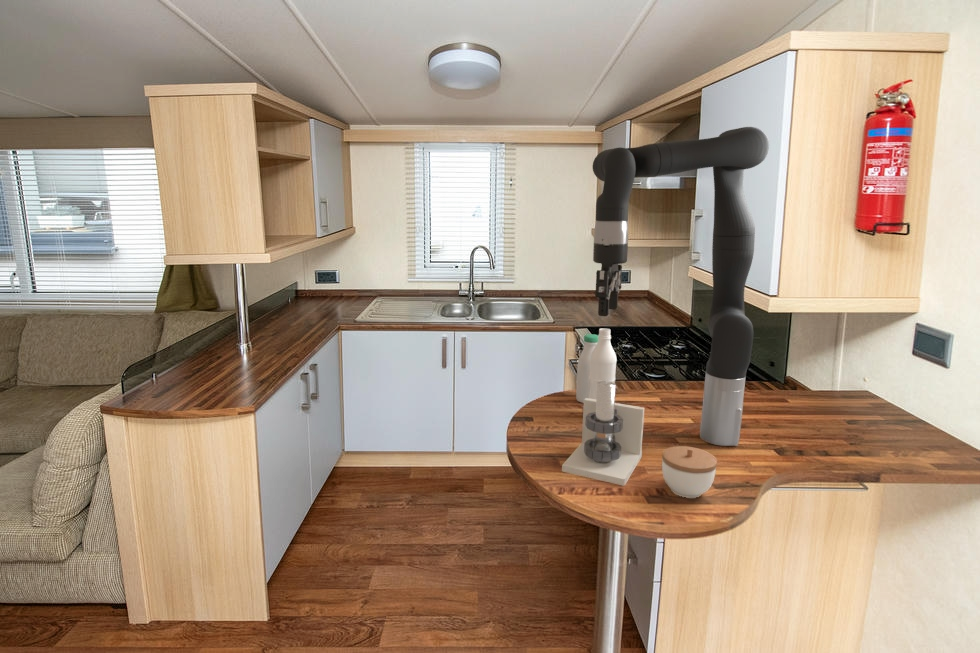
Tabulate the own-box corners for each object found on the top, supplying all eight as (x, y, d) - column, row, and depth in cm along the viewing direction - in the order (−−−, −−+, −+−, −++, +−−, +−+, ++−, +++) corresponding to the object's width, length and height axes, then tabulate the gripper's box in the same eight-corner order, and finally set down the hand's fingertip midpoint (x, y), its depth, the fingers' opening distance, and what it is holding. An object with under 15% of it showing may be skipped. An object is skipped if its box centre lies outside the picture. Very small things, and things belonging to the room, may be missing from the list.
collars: (627, 445, 137) (629, 411, 135) (615, 464, 128) (617, 427, 126) (594, 439, 141) (596, 405, 139) (579, 456, 131) (581, 420, 129)
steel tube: (596, 454, 136) (600, 380, 132) (613, 458, 134) (617, 382, 130) (590, 461, 132) (594, 385, 128) (608, 465, 130) (612, 387, 127)
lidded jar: (649, 482, 126) (652, 441, 124) (692, 476, 129) (695, 436, 127) (679, 507, 116) (683, 463, 114) (724, 499, 119) (729, 457, 117)
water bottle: (615, 422, 159) (621, 332, 154) (588, 422, 159) (593, 332, 154) (610, 412, 166) (615, 326, 161) (585, 412, 166) (589, 326, 161)
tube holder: (641, 456, 138) (645, 406, 136) (624, 485, 124) (628, 430, 122) (584, 445, 144) (586, 396, 142) (561, 471, 130) (564, 418, 128)
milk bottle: (606, 403, 174) (610, 337, 169) (582, 405, 172) (585, 339, 167) (594, 395, 181) (598, 331, 177) (571, 397, 179) (574, 333, 174)
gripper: (602, 238, 139) (599, 306, 143) (585, 243, 127) (583, 316, 130) (634, 239, 136) (630, 308, 140) (620, 244, 123) (617, 319, 127)
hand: (608, 312), depth 135 cm, fingers open, 8 cm apart
